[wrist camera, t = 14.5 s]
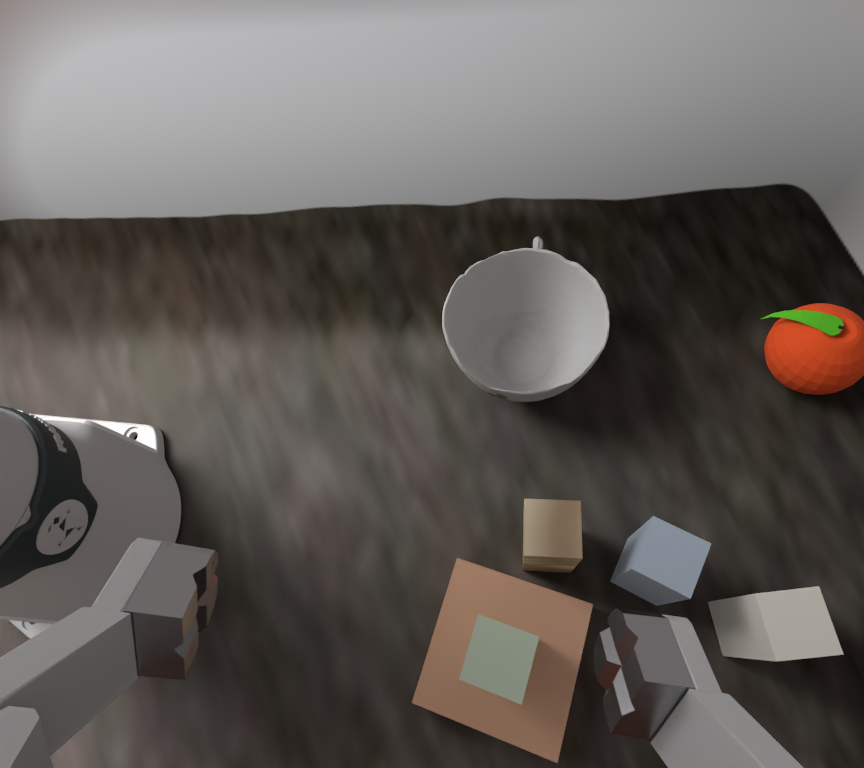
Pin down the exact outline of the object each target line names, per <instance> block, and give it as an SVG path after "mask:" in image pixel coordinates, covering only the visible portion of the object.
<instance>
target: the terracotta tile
mask: <svg viewBox="0 0 864 768" xmlns="http://www.w3.org/2000/svg"><path fill="white" fill-rule="evenodd" d="M592 607H593V604H591V603H588V602H585V601H582V600H579V599H576V598H574V597H571V596H568V595H565V594H562V593H559V592H556V591H553V590H550V589H547V588H544V587H541V586H538V585H535V584H532V583H530V582H527V581H524V580H521V579H518V578H515V577H512V576H509V575H506V574H503V573H500V572H497V571H494V570H491V569H488V568H485V567H483V566H480V565H477V564H474V563H471V562H468V561H465V560H462V559H459V558H457V560H456V563H455V566H454V569H453V573H452V576H451V579H450V582H449V585H448V589H447V592H446V595H445V598H444V601H443V605H442V608H441V611H440V614H439V617H438V621H437V624H436V627H435V630H434V633H433V636H432V640H431V643H430V646H429V649H428V652H427V656H426V659H425V662H424V665H423V668H422V672H421V675H420V678H419V681H418V684H417V688H416V691H415V694H414V697H413V700H412V703H413V704H416V705H418V706H421V707H423V708H425V709H428V710H430V711H433V712H435V713H437V714H440V715H442V716H445V717H447V718H450V719H452V720H454V721H457V722H459V723H462V724H464V725H466V726H469V727H471V728H474V729H476V730H478V731H481V732H483V733H486V734H488V735H490V736H493V737H495V738H498V739H500V740H502V741H505V742H507V743H510V744H512V745H514V746H517V747H519V748H522V749H524V750H526V751H529V752H531V753H534V754H536V755H539V756H541V757H543V758H546V759H548V760H551V761H553V762H555V763H558V758H559V754H560V750H561V745H562V741H563V736H564V732H565V727H566V723H567V718H568V714H569V710H570V705H571V701H572V696H573V692H574V687H575V683H576V678H577V674H578V670H579V665H580V661H581V656H582V652H583V647H584V643H585V639H586V634H587V630H588V625H589V621H590V616H591V612H592ZM478 614H480V615H483V616H485V617H488V618H491V619H494V620H496V621H499V622H502V623H504V624H507V625H510V626H512V627H515V628H518V629H520V630H523V631H526V632H529V633H531V634H534V635H537V636H539V640H538V644H537V647H536V651H535V655H534V659H533V663H532V667H531V671H530V674H529V678H528V682H527V686H526V690H525V694H524V698H523V701H522V705H521V704H518V703H516V702H513V701H511V700H508V699H506V698H503V697H501V696H499V695H496V694H494V693H491V692H489V691H486V690H484V689H481V688H479V687H476V686H474V685H471V684H469V683H467V682H464V681H462V680H459V677H460V674H461V671H462V667H463V664H464V661H465V657H466V654H467V650H468V647H469V644H470V640H471V637H472V634H473V630H474V627H475V624H476V620H477V617H478Z"/></svg>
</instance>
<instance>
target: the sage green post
mask: <svg viewBox="0 0 864 768" xmlns="http://www.w3.org/2000/svg"><path fill="white" fill-rule="evenodd" d="M538 640H539V636H537V635H534V634H531V633H529V632H526V631H523V630H520V629H518V628H515V627H512V626H510V625H507V624H504V623H502V622H499V621H496V620H494V619H491V618H488V617H485V616H483V615H480V614H478V617H477V620H476V624H475V627H474V630H473V634H472V637H471V640H470V644H469V647H468V650H467V654H466V657H465V661H464V664H463V667H462V671H461V674H460V677H459V680H462V681H464V682H467V683H469V684H471V685H474V686H476V687H479V688H481V689H484V690H486V691H489V692H491V693H494V694H496V695H499V696H501V697H503V698H506V699H508V700H511V701H513V702H516V703H518V704H521V705H522V701H523V698H524V694H525V690H526V686H527V682H528V678H529V674H530V671H531V667H532V663H533V659H534V655H535V651H536V647H537V644H538Z"/></svg>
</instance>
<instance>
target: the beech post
mask: <svg viewBox="0 0 864 768" xmlns="http://www.w3.org/2000/svg"><path fill="white" fill-rule="evenodd" d="M582 559H583V556H582V525H581V501H572V500H547V499H524V517H523V570H527V571H544V572H561V573H571V572H572V571H573V569H574V568H575V567H576V566H577V565H578V563H579V562H580V561H581V560H582Z"/></svg>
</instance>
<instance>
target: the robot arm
mask: <svg viewBox="0 0 864 768" xmlns="http://www.w3.org/2000/svg"><path fill="white" fill-rule="evenodd" d="M136 435H138V437H137V439H136V440H134V437H135V436H136ZM180 520H181V499H180V493H179V489H178V486H177V483H176V480H175V478H174V476H173V474H172V472H171V471H170V469H169V467H168V465H167V463H166V460H165V455H164V439H163V435H162V432H161V431H160V430H159V429H158V428H156V427H153V426H150V425H144V424H133V423H123V422H112V421H102V420H91V419H80V418H70V417H59V416H48V415H38V414H29V413H26V412H24V411H20V410H15V409H13V408H8V407H4V406H0V619H4V620H9V621H10V622H11V623H12V624H14V625H15V626H16V627H17V628H18V629H19V630H20V631H22V632H23V633H24V634H25V635H26V636H27V637H29V638H30V639H29V640H28V641H26V642H24V643H23V644H21V645H20V646H18V647H16V648H15V649H13V650H11V651H10V652H8V653H7V654H5V655H3V656H2V657H0V768H53V766H52V762H51V758H50V756H51V755H52V754H53V753H55V752H56V751H57V750H58V749H59V748H60V747H61V746H63V745H64V744H65V743H66V742H67V741H68V740H69V739H70V738H72V737H73V736H74V735H75V734H76V733H77V732H78V731H79V730H81V729H82V728H83V727H84V726H85V725H86V724H87V723H88V722H90V721H91V720H92V719H93V718H94V717H95V716H96V715H98V714H99V713H100V712H101V711H102V710H103V709H104V708H105V707H107V706H108V705H109V704H110V703H111V702H112V701H113V700H114V699H116V698H117V697H118V696H119V695H120V694H121V693H122V692H123V691H125V690H126V689H127V688H128V687H129V686H130V685H131V684H133V683H134V682H135V681H136V680H137V679H138V676H145V677H155V678H165V679H176V680H185V679H186V677H187V674H188V672H189V669H190V667H191V665H192V662H193V660H194V657H195V655H196V652H197V650H198V633H199V632H201V631H202V630H203V629H205V628H206V627H207V625H208V623H209V620H210V618H211V615H212V612H213V608H214V605H215V601H216V597H217V590H218V578H217V576H216V575H215V574H214V571H215V569H216V567H217V564H218V551H216V550H211V549H205V548H200V547H194V546H188V545H182V544H176V543H175V542H176V539H177V535H178V531H179V527H180ZM607 620H608V623H609V628H607V629H605V630H604V631H602V632H600V633H599V635H598V638H597V640H596V642H595V646H594V653H593V661H594V670H595V674H596V679H597V680H598V682H599V683H600V684H601V685H602V686H603V688H604V689H605V690H606V694H605V696H604V698H603V700H602V703H603V707H604V711H605V715H606V719H607V723H608V727H609V731H610V734H611V735H617V736H624V737H630V738H636V739H643V740H649V741H651V745H652V746H653V747H654V749H655V750H656V752H657V753H658V754H659V756H660V757H661V759H662V760H663V761H664V763H665V764H666V766H667V767H668V768H803V767H802V766H801V765H800V764H799V763H798V762H797V761H796V760H795V759H794V758H793V757H792V756H791V755H790V754H789V753H788V752H787V751H786V750H785V749H784V748H783V747H782V746H781V745H780V744H779V743H778V742H777V741H776V740H775V739H774V738H773V737H772V736H771V735H770V734H769V733H768V732H767V731H766V730H765V729H764V728H763V727H762V726H761V725H760V724H759V723H758V722H757V721H756V720H755V719H754V718H753V717H752V716H751V715H750V714H749V713H748V712H747V711H746V710H745V709H744V708H743V707H742V706H741V705H740V704H739V703H738V702H736V701H735V700H734V699H733V698H732V697H731V696H730V695H729V694H725V693H722V692H721V689H720V687H719V685H718V682H717V680H716V678H715V676H714V673H713V671H712V669H711V666H710V664H709V662H708V660H707V657H706V655H705V653H704V651H703V648H702V646H701V644H700V641H699V639H698V637H697V635H696V632H695V630H694V628H693V625H692V623H691V622H690V621H689V620H688V619H687V618H683V617H677V616H670V615H661V614H659V613H651V612H644V611H636V610H628V609H621V608H616V609H614V610H613V611H611V613H610V615H609V617H608V618H607Z"/></svg>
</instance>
